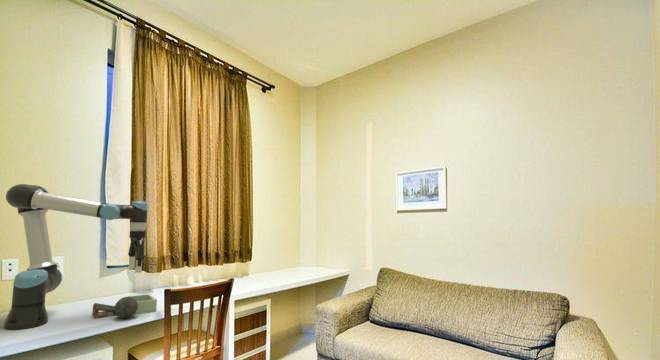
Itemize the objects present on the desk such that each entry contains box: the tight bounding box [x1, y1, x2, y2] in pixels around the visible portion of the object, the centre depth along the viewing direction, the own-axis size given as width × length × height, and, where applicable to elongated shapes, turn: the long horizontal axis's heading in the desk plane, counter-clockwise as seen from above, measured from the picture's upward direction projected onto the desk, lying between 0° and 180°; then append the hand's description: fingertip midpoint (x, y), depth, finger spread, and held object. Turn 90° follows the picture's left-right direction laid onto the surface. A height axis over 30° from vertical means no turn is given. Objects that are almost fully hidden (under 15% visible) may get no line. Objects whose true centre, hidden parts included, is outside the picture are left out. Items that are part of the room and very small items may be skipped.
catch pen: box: [127, 293, 158, 316], centre depth 187 cm, size 11×15×6 cm
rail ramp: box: [91, 302, 118, 319], centre depth 176 cm, size 10×9×6 cm
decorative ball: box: [114, 296, 138, 319], centre depth 173 cm, size 10×10×10 cm
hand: (134, 270), depth 186 cm, fingers open, 13 cm apart
